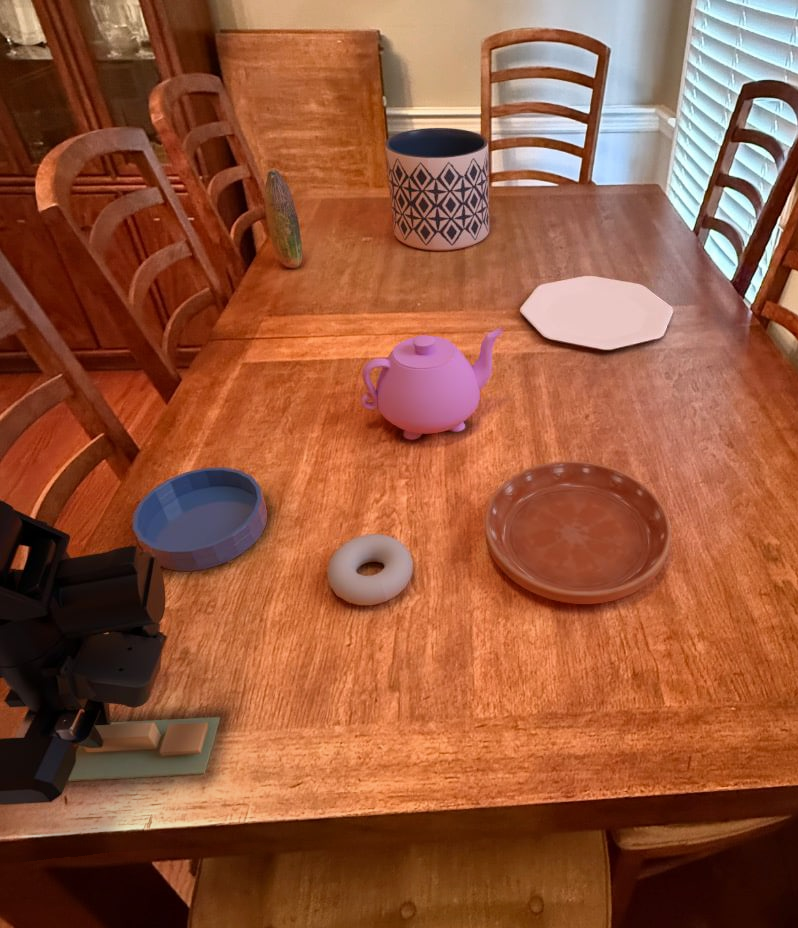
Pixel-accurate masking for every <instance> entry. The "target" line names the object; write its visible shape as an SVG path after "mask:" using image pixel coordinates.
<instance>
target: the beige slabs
mask: <svg viewBox="0 0 798 928" xmlns="http://www.w3.org/2000/svg"><path fill="white" fill-rule="evenodd" d="M95 727H96V728H97V730H98V732H99V733H100V735H101V738H102V740H103V746H102V747H101V748H88V747H84V749H85V750H86V751H87V752H104V751H123V750H142V749H157V747H158V744H159V741H160V738H161V733H160V732H159V730H158V729H157V727H156V725H155V724H154V723H153V722H151V723H131V724H111V725H95ZM208 727H209V726H208V724H207V722H205V723H185V724H169V725H168V728H167V731H166V734H165V737H164V740H163V743H162V745H161V748H160V751H159V753H160V754H161V756H165V755H184V754H201V751H202V747H203V744H204V740H205V737H206V733H207V730H208Z"/></svg>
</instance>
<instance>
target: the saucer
mask: <svg viewBox="0 0 798 928" xmlns="http://www.w3.org/2000/svg"><path fill="white" fill-rule="evenodd" d="M484 533H485V541H486V545H487V548H488V551H489V553H490V555H491V557H492V559H493V560H494V562H495V563H496V565H497V566H498V567H499V569H500V570H502V572H503V573H504V574H505V575H506V576H507V577H508V578H509V579H510V580H512V581H513V582H514V583H516V584H517V585H519V586H520V587H522V588H523V589H525V590H527V591H529V592H531V593H533V594H535V595H537V596H540V597H542V598H545V599H548V600H553V601H556V602H560V603H568V604H575V605H576V604H577V605H593V604H601V603H608V602H613V601H616V600H620V599H624V598H625V597H628V596H631V595H632V594H634V593H636V592H638V591H640V590H641V589H643V588H644V587H646V586H647V585H649V583H650V582H652V581H653V579H655V577H656V576H657V575H658V574H659V573H660V571H661V570H662V568H663V566H664V564H665V562H666V560H667V557H668V554H669V551H670V547H671V542H672V525H671V521H670V518H669V515H668V512H667V509H666V508H665V507H664V505H663V503H662V501H661V500H660V498H658V496H656V494H655V493H654V492H653V491H652V490H651V489H649V487H647V486H646V485H645V484H644V483H642V482H641V481H640V480H638V479H637V478H635V477H633V476H632V475H630V474H627V473H625V472H624V471H621V470H619V469H616V468H614V467H611V466H608V465H604V464H600V463H595V462H590V461H580V460H560V461H552V462H546V463H542V464H538V465H535V466H531V467H529V468H527V469H525V470H522V471H520V472H518V473H516V474H515V475H513V476H512V477H509V479H507V480H505V482H503V483H502V484H501V485H500V487H499V488H498V489H497V490H496V491H495V492H494V494H493V495H492V497H491V499H490V500H489V502H488V504H487V507H486V512H485V516H484Z"/></svg>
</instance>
